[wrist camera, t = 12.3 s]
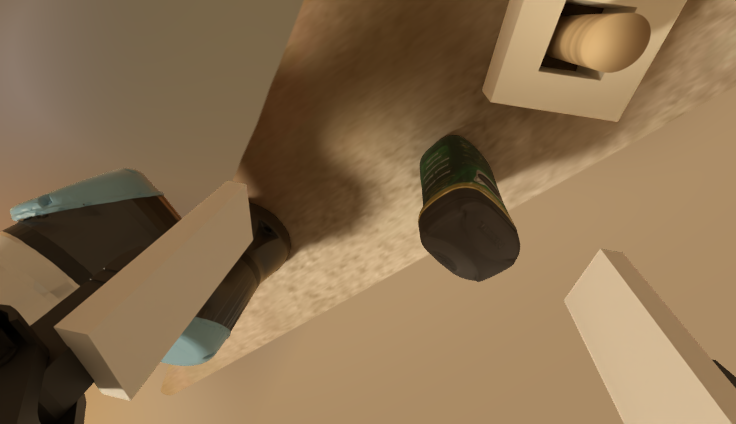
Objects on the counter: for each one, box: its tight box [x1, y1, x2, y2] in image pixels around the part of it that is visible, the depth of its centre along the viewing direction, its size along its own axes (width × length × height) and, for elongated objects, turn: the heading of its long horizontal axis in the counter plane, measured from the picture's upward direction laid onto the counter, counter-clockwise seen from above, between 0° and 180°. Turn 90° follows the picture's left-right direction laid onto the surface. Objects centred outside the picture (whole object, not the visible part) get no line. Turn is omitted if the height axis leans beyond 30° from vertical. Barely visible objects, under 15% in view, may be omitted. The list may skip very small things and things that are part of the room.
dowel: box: [545, 13, 651, 73], centre depth 28 cm, size 4×4×12 cm
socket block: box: [482, 0, 687, 122], centre depth 31 cm, size 13×13×6 cm
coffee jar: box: [418, 135, 520, 282], centre depth 36 cm, size 10×8×19 cm
